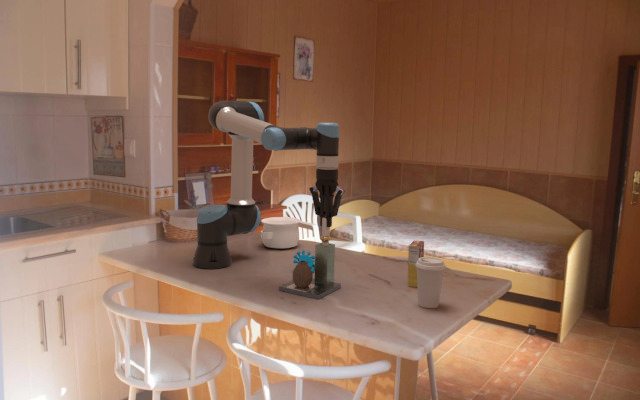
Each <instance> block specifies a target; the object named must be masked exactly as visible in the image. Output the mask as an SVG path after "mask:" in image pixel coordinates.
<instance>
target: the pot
mask: <svg viewBox="0 0 640 400" xmlns="http://www.w3.org/2000/svg"><path fill="white" fill-rule="evenodd" d="M260 223H262V224H263V227H262V230H260V238H261V239H262V243H263V245H264V246H265V247H267V248H271V249H278V250H279V249H290V248H294V247H296V246H298V243H299V239H300V232H299V224H300V223H301V220H300V219H299V218H297V217H296V218H295V217H290V216H289V217H288V216H287V217H286V216H273V217H265V218H263V219H262V218H261V220H260Z"/></svg>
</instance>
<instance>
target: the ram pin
mask: <svg viewBox="0 0 640 400" xmlns="http://www.w3.org/2000/svg"><path fill="white" fill-rule="evenodd" d="M319 239H320V240H321V243H322V245H324V246H328V245H329V243H330V240H331V239H332V236H327V237H323V236H322V235H320V236H319Z"/></svg>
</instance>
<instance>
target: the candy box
mask: <svg viewBox="0 0 640 400" xmlns="http://www.w3.org/2000/svg"><path fill="white" fill-rule="evenodd" d="M407 256H408V257H407V287H410V288H417V289H418V282H417V267H416V266H415V265H416V262H417V261H418V259H419V258H421V257H425V241H424V240H415V239H414V240H413V241H412V242H411V243H410V244H409V245H408V255H407Z"/></svg>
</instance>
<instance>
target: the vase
mask: <svg viewBox="0 0 640 400" xmlns="http://www.w3.org/2000/svg"><path fill="white" fill-rule="evenodd" d="M297 264H298V265H297ZM297 264H296V265H297V266H296V265H295V267H294V269H293V271H292V277H291V278H292V280H293V282H294V284H295V285H296V286H297V287H299V288H306V287H308V286H309V285H310V284H311V282H312V278H314V277H313V275H314V274H313V272H312V270H311V268H310V267H309V266H308V264H307V262H306V261H299V263H297Z"/></svg>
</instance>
